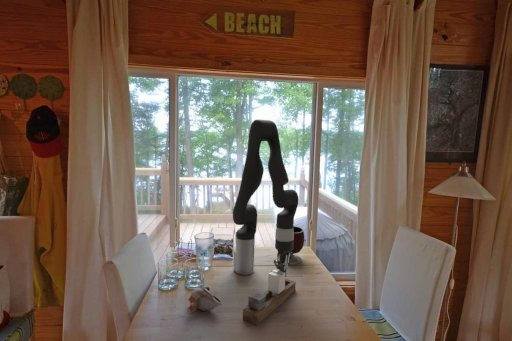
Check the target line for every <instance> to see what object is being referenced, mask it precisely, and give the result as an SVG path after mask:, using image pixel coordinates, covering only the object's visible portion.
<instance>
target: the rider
mask: <svg viewBox="0 0 512 341" xmlns="http://www.w3.org/2000/svg"><path fill="white" fill-rule="evenodd" d="M285 279H286V277H285V272H282V271H280V270H279V269H273V270H271V271H270V272H269V273H268V275H267V290H269V291H272V296H274V295H275V294H279V293H281V292H282V291H283V290H284V289H285Z"/></svg>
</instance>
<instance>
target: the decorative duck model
mask: <svg viewBox="0 0 512 341" xmlns="http://www.w3.org/2000/svg"><path fill="white" fill-rule="evenodd" d="M188 301H189V303H190V305H189V307H188V310H189V313H193V312H195V311H196V310H197V309H198V310H200V311H202V312H203V311H204V312H205V311H210V310H214V309H217V308H218V307H220V306H222V303H221V299H219V298H218V297H216V296H215V295H214V294H212V293H211V292H210V287H209V286H204V287H198V288H195V289H194V290H193V291H192V292H191V295H190V297H189V298H188Z"/></svg>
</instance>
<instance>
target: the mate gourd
mask: <svg viewBox="0 0 512 341" xmlns="http://www.w3.org/2000/svg"><path fill="white" fill-rule="evenodd" d="M276 225H277V223H276V224H275V226H276ZM293 230H294V241H293V250H291V251H290V252H292V253H293V255H292V259H291V262H290V265H298V263H299V264H301V263H302V262H303V261H302V260H303V259H302V257H301V256H299V255H296V254H298V253H300V252H301V250H303V247H304V244H305V232H304V228H302V227H300V226H295V225H293ZM301 261H302V262H301Z"/></svg>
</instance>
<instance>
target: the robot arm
mask: <svg viewBox="0 0 512 341" xmlns="http://www.w3.org/2000/svg"><path fill="white" fill-rule="evenodd" d="M251 122H252V123H251V124H250V127H249V132H248V142H247V152H246V157H245V162H244V166H243V169H242V170H243V171H242V174H241V180H240V185H239V190H238V193H237V194H238V195H237V197H236V199H235V200H236V201H235V203H234V207H233V210H232V220H233V222H234V224H235V225H237V226H241V227H240V228H239V229H238V230H237V231H236V232H235V251H233V271H234V272H235V273H236V274H238V275H243V276H244V275H245V276H246V275H251V274H253V273H254V272H255V271H254V270H255V243H256V242H255V240H256V239H255V238H256V237H255V236H256V234H257V225H258V209H257V208H256V206H255V205H254V204H250V203H249V201H250V199H251V197H252V196H253V195H254V194H255V193H256V191H257V190H258V188H259V187H260V185H261V184H262V179H263V177H264V176H263V175H264V164H263V161H262V158H261V155H260V150H261V144H262V142H267V145H268V147H269V157H268V162H267V171H268V173H269V177H270V179H271V185H272V187H271V188H272V201H273V203H274V205H275V206H276V207H277V208H279V209H283V210H282V211H280V212H278V213H277V215H276V224H277V225H276V224H275V227H276V229H275V235H274V236H275V239H274V242H275V243H274V248H275V249H276V251H277V254H276V255H277V257H276V259H274V260H273V263H274V266H275V267H276V270H279V271H282V272H285V278H287V270H288V267H290V265H291V264H290V262H291V259H292V255H294V254H293V253H292V252H290V251H291V250H293V241H294V230H293V226H295V225H294V224H295V223H294V221H295V220H294V219H295V215H296V212H297V209H298V205H299V201H300V198H299V195H298V193H297V191H296V189H284V187H285V185H287V184H288V183H289V176H288V173H287V170H286V167H285V164H284V160H283V154H282V150H281V142H280V136H279V130H278V127H277V124H276V123H275V122H274V121H273V120H268V119H254V120H253V121H251ZM248 203H249V204H248Z"/></svg>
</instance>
